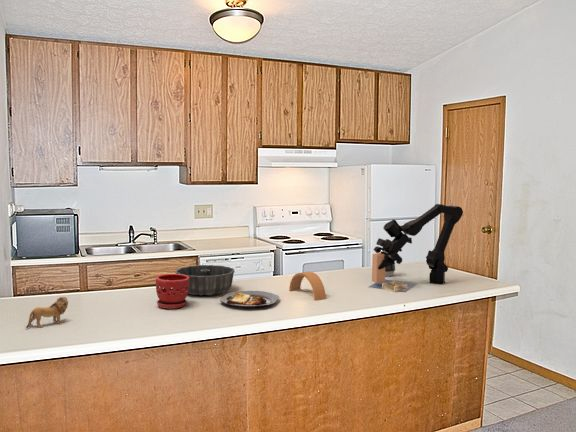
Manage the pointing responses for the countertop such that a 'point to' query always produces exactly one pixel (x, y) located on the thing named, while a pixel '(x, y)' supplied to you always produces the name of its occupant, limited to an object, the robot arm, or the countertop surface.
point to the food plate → (244, 298)
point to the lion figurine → (49, 312)
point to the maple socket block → (394, 286)
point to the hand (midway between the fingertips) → (376, 267)
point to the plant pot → (172, 290)
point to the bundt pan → (207, 279)
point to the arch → (314, 281)
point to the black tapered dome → (389, 269)
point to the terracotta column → (377, 274)
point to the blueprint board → (379, 285)
